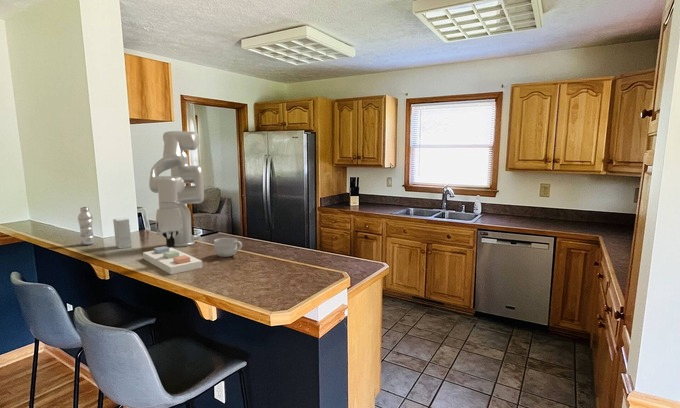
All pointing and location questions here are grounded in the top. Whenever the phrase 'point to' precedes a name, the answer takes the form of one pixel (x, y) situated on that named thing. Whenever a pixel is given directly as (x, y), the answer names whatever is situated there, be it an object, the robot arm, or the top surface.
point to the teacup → (226, 246)
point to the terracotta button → (181, 259)
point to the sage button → (170, 254)
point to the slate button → (161, 249)
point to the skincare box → (122, 233)
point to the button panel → (169, 264)
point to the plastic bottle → (86, 226)
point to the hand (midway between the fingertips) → (170, 246)
